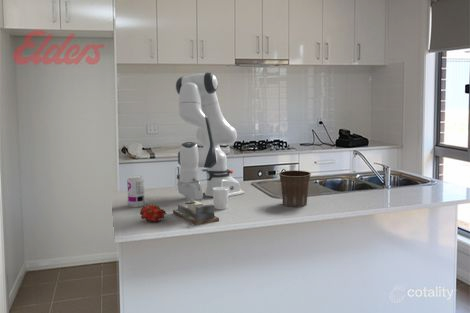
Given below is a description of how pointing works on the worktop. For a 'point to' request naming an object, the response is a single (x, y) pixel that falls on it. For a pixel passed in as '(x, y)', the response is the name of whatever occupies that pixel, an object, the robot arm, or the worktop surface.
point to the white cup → (220, 197)
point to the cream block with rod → (193, 205)
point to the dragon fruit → (152, 213)
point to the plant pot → (294, 187)
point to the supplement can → (136, 191)
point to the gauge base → (197, 214)
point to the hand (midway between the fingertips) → (190, 206)
